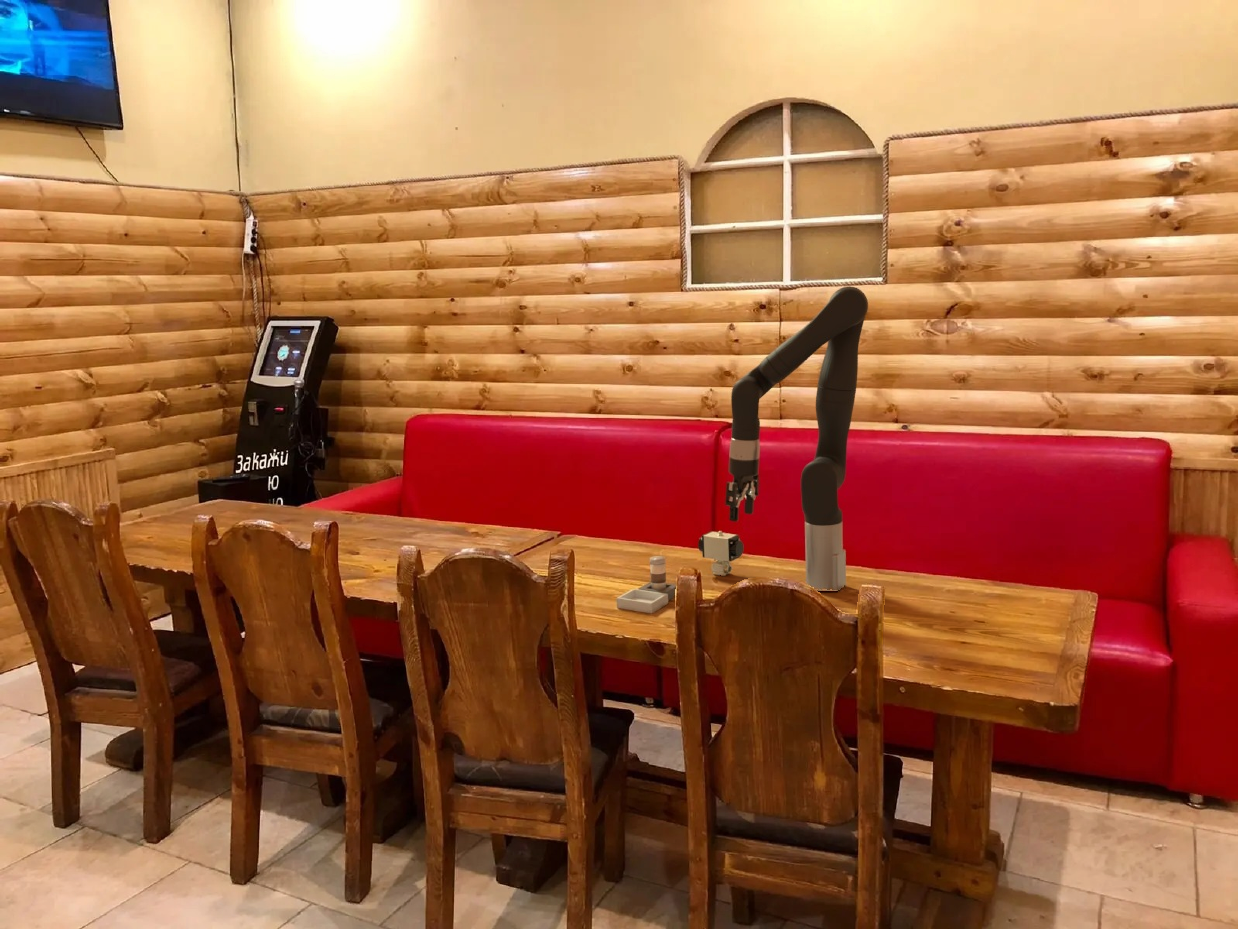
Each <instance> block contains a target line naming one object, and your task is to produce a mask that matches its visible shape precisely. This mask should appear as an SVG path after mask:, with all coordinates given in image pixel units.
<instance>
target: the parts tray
mask: <svg viewBox="0 0 1238 929" xmlns="http://www.w3.org/2000/svg"><path fill="white" fill-rule="evenodd" d="M615 599H616V600H615V601H616V608H618V609H622V610H629V611H635V612H640V613H647V614H653V613H655V612H657V611H658V610H660V609H662V608H663V607H665V606H666V605H668V604H669V601H668V594H666V593H659V592H652V591H646V590H639V589H638V588H632V589H631V590H629V591H627V592H625V593H623V594H621V595H619V596H617V597H616V598H615Z"/></svg>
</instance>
